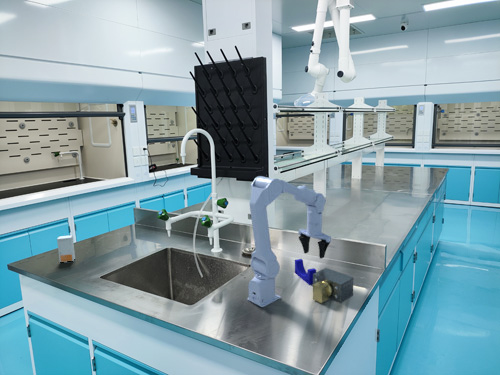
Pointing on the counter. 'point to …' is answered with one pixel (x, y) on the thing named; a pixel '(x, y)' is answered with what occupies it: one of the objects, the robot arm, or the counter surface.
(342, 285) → the block
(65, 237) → the skincare box
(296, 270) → the cable clip
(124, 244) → the counter surface
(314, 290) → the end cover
